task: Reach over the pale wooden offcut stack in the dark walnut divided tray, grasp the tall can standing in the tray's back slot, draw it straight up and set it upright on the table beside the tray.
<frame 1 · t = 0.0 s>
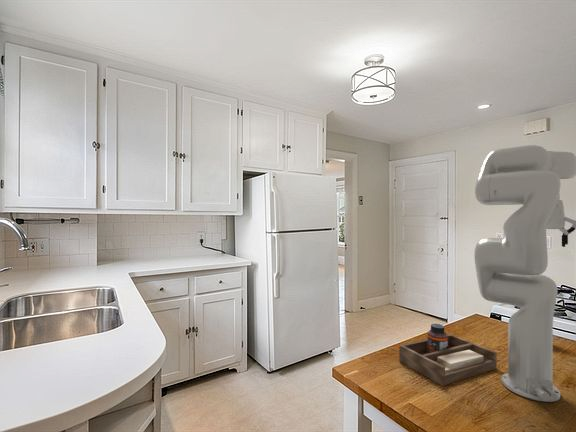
hand: (544, 245, 105), 37 cm above the counter, tool pointing down, fingers open, 9 cm apart
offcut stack: (458, 371, 92), resting in walnut divided tray
supplement bottle: (437, 360, 99), resting in walnut divided tray
walnut divided tray: (446, 364, 96), on the counter
soda can: (534, 342, 114), on the counter
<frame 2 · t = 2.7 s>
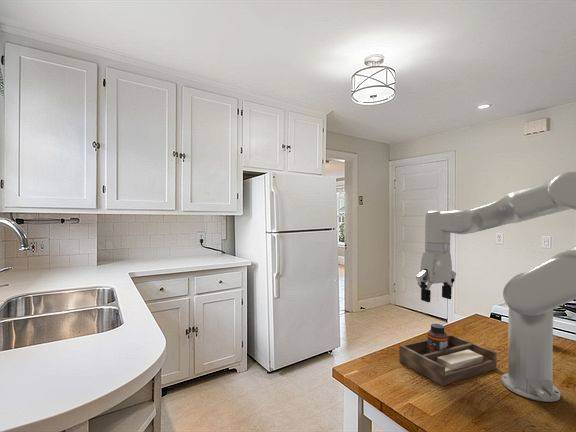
hand: (436, 299, 99), 20 cm above the counter, tool pointing down, fingers open, 9 cm apart
nothing on the counter moved.
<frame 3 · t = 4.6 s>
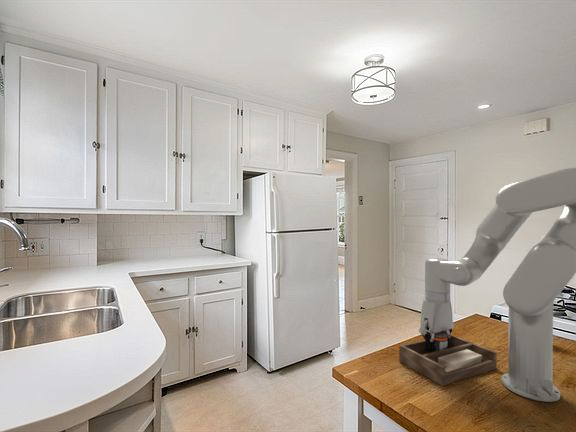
hand: (437, 350, 99), 3 cm above the counter, tool pointing down, fingers closed on supplement bottle, 6 cm apart
supplement bottle: (437, 360, 99), resting in walnut divided tray, touching gripper
everything else where it was.
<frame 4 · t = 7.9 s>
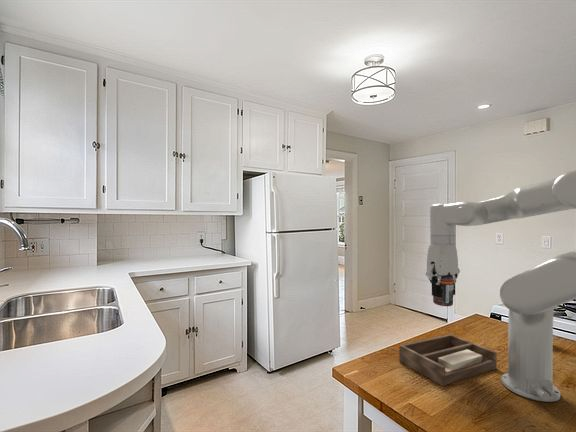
hand: (443, 294, 100), 21 cm above the counter, tool pointing down, fingers closed on supplement bottle, 6 cm apart
supplement bottle: (442, 304, 100), point 18 cm above the counter, touching gripper
everything else where it was.
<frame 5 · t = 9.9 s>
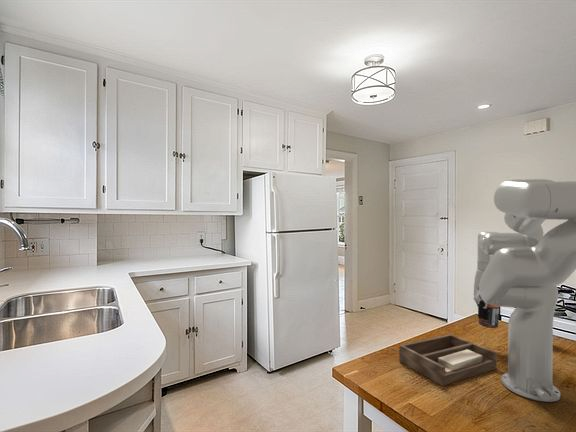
hand: (489, 317, 107), 12 cm above the counter, tool pointing down, fingers closed on supplement bottle, 6 cm apart
supplement bottle: (488, 326, 107), point 8 cm above the counter, touching gripper
everything else where it was.
when the fingers open (5 cm above the counter, at t = 11.4 s): supplement bottle drops 2 cm, on the counter.
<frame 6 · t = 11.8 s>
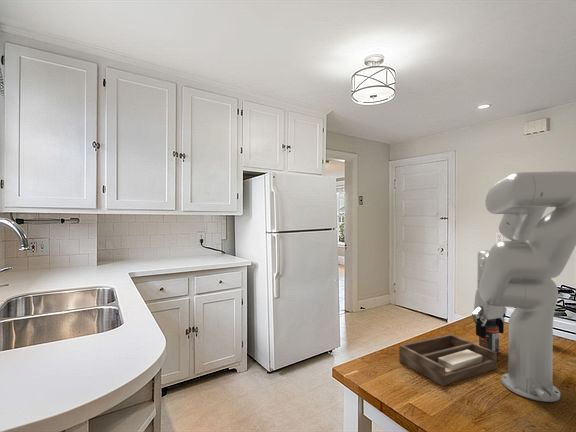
hand: (489, 334, 106), 6 cm above the counter, tool pointing down, fingers open, 9 cm apart
supplement bottle: (488, 351, 106), on the counter
everything else where it was.
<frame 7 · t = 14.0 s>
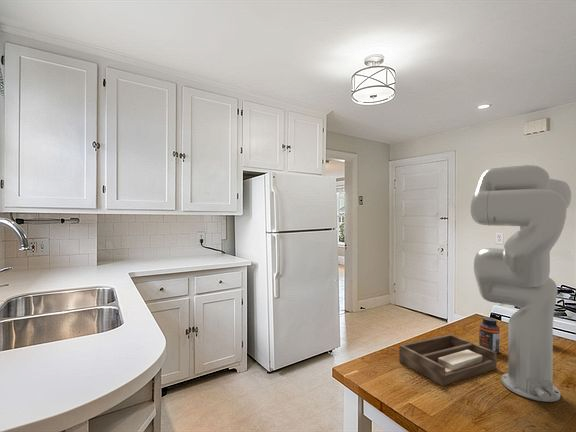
hand: (534, 277, 101), 27 cm above the counter, tool pointing down, fingers open, 9 cm apart
nothing on the counter moved.
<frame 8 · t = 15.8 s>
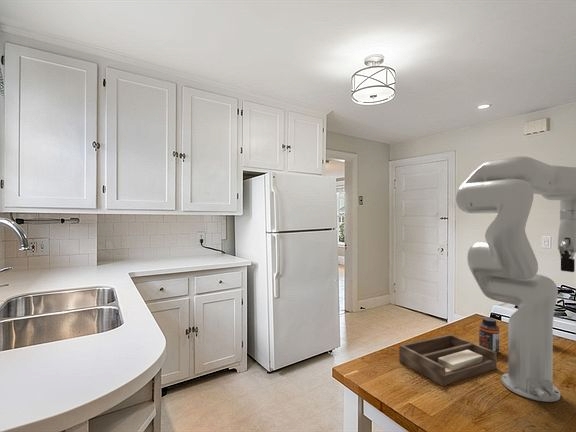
hand: (575, 270, 96), 30 cm above the counter, tool pointing down, fingers open, 9 cm apart
nothing on the counter moved.
at the end: supplement bottle inside the target area (0.3 cm from its centre), on the counter; supplement bottle tilted 1°; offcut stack moved 0.5 cm from its start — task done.
